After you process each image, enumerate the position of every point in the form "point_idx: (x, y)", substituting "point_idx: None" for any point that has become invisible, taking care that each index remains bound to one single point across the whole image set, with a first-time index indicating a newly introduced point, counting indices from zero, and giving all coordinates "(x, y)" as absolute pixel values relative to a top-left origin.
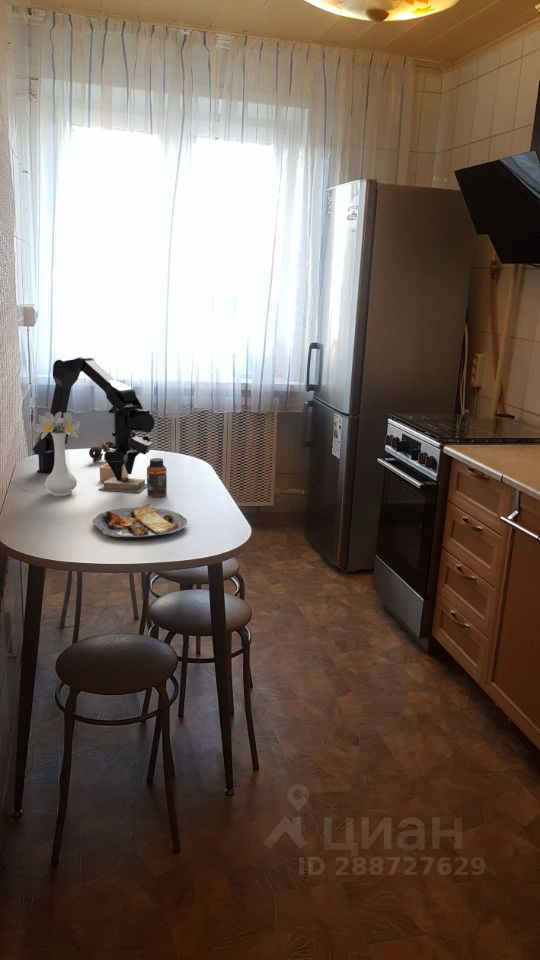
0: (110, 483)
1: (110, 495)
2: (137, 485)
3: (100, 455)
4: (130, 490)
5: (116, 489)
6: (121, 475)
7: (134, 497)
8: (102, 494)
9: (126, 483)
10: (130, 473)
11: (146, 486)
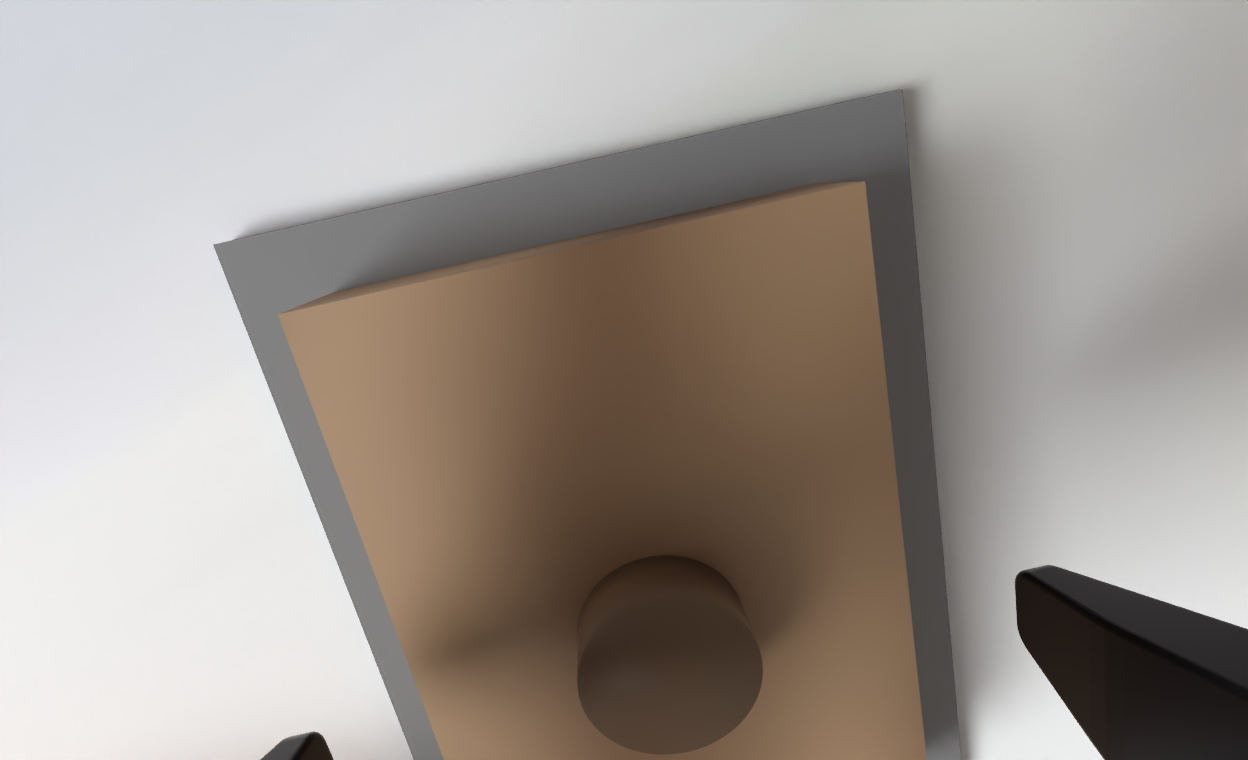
0: (921, 742)
1: (1174, 480)
2: (858, 182)
3: None
4: None
5: None
6: (1225, 629)
7: (1203, 12)
8: None
9: (837, 482)
10: (313, 751)
11: (415, 199)
